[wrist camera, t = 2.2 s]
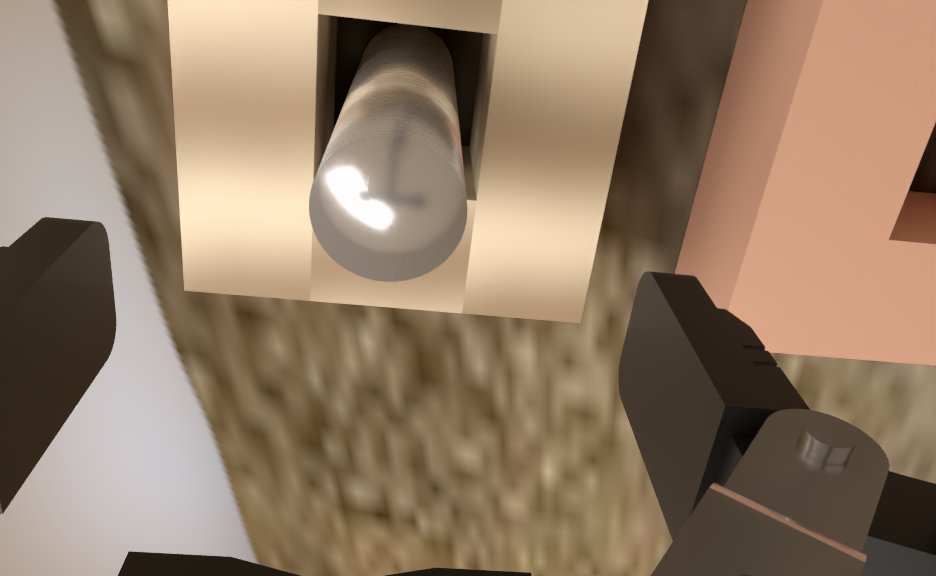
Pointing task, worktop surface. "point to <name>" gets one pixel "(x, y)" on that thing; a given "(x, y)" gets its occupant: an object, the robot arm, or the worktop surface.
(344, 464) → the worktop surface
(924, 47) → the dock block
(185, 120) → the mount block
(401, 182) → the lock pin
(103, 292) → the robot arm
